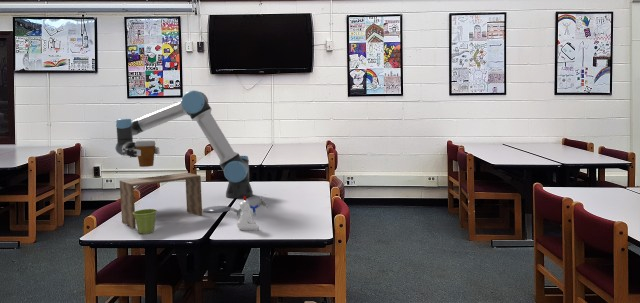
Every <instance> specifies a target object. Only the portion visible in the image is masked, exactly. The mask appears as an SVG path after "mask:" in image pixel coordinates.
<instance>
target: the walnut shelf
mask: <svg viewBox="0 0 640 303" xmlns="http://www.w3.org/2000/svg"><path fill="white" fill-rule="evenodd" d="M201 179H202V177H201V175H199V174H195V173H192V172H191V173H190V172H183V173H174V174H163V175H157V176H147V177H139V178H132V179H130V178H129V179H123V180H119V192H120V193H119V194H120V210H121V223H122V222H123V223H122V224H124V223H125V224H124V225H126V224H127V225H126V226H128V225H129V226H128V227H130V228H132V229H137V224H136V219H135V217H134V214H133V212H135V211H136V207H135V190H134V187H136V186H146V185H152V184H161V183H168V182H177V181H178V182H179V181H185V195H186V196H185V197H186V212H188V213H192V214H194V215H197V216H200V217H202V216H203V204H202V203H203V200H202V199H203V198H202V180H201Z"/></svg>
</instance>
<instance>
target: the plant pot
mask: <svg viewBox="0 0 640 303" xmlns="http://www.w3.org/2000/svg"><path fill="white" fill-rule="evenodd" d="M157 212H158V210H157V209H154V208H144V209H139V210H135V212H133V214H134V217H135V222H136V229H137V233H138V234H143V235H146V234H151V233H153V232H155V226H156V222H155V221H156V216H157Z"/></svg>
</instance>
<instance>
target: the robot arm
mask: <svg viewBox="0 0 640 303" xmlns="http://www.w3.org/2000/svg"><path fill="white" fill-rule="evenodd" d="M183 116H189V117H190V119H191V120H192V121H194V122H196V123H197V124H198V126H199V128H200V130H201V131H202V133H203V134H204V136H205V138H206V140H207V141H208V143H209V144H210V146H211V147H212V149H213V151H214V153H215V154H216V155H217V157H218V158H219V166H220V168H221V170H222V171H223V174H224V178H225V179H227V181H228V184H227V188H226V191H225V197H226V198H229V199H243V197H244V196H246V198H251V197H253V195H254V193H253V192H254V190H253V188H252V185H251V183H250V166H249V165H250V164H249V163H250V160H249V157H248V155H240V153H239V152H236V151H234V149H233V147H232V146H231V144H230V143H229V141H228V139H227V137H226V136H225V134H224V133H223V131H222V129H221V128H220V126H219V125H218V123H217V121H216V119H215V118H214V117H213V114H212V107H211V106H210V104H209V99H208V97H207V96H206V94H205V93H204V92H202V91H198V90H189V91H186V92H185V94H183V96H182V97H181V100H180V101H179V102H176V103H175V104H172V105H170V106H167V107H164V108H161V109H159V110H156V111H154V112H152V113H149V114H146V115H143V116H142V117H140V118H136V119H134V120H132V119H131V118H118V119H116V122H115V123H116V125H115V127H116V138H117V139H116V141H117V142H116V144H115V151H116V153H117V154H119V155H121V156H124V157H125V156H126V157H129V158H138V156H141V150H137V149H136V146H135V142H136V141H135V142H134V138H133V136H136V135H139V134H140V133H143V132H145V131H148V130H150V129H153V128H155V127H159V126H160V125H164V124H165V123H168V122H171V121H173V120H177V119H179V118H181V117H183ZM155 154H156V155H160V154H161V153H160V147H157V146H156V145H155V151H154V155H155Z"/></svg>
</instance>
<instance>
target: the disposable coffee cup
mask: <svg viewBox="0 0 640 303" xmlns="http://www.w3.org/2000/svg"><path fill="white" fill-rule="evenodd" d="M135 146H136V149H137V150H141V156H138V157H137V160H138V164H139V167H141V168H148V167H153V166H154V161H155V154H154V151H155V146H156V141H155V140H138V141H135Z"/></svg>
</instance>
